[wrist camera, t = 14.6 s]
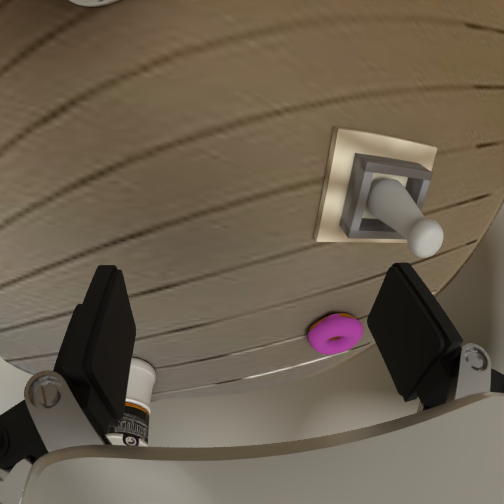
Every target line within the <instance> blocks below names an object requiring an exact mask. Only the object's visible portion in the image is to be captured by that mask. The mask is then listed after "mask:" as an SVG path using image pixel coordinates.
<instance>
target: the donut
mask: <svg viewBox="0 0 504 504" xmlns="http://www.w3.org/2000/svg"><path fill="white" fill-rule="evenodd" d="M363 331H364V330H363V325H362V324H361V323H360V322H359V321H358V320H356V319H355V317H353V316H352V315H349V314H347V313H335V314H332V315H329V316H327V317H325V318H323V319H321V320H319V321H318V322H316V323H315V324H313V325H312V326H311V328H310V330H309V333H308V335H307V337H308V340H309V342H310V344H311V346H312V347H313V348H314V349H315V350H316V351H317V352H319V353H322V354H336V353H341V352H344V351H346V350H348V349H350V348H352V347H353V346H354V345H355V344H356V343H357V342H358V341H359V340H360V339H361V337H362V335H363Z"/></svg>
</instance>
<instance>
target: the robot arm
mask: <svg viewBox="0 0 504 504" xmlns="http://www.w3.org/2000/svg"><path fill="white" fill-rule="evenodd" d="M69 1H71V2H72V3H75V4H77V5H81V6H86V7H98V6H105V5H108V4H112V3H115V2H117V1H119V0H103V1H101V0H69ZM367 324H368V327H369V329H370V331H371V333H372V336H373V338H374V340H375V342H376V344H377V346H378V348H379V350H380V353H381V354H382V357H383V359H384V361H385V363H386V366H387V368H388V370H389V372H390V375H391V377H392V379H393V381H394V384H395V386H396V388H397V391H398V393H399V394H400V395H402V396H403V398H404V401H405V402H407V401H411V400H414V399H416V398H417V397H419V398H420V403H419V407H418V410H417V413H415V414H412V415H409V416H406V417H402V418H399V419H395V420H392V421H388V422H385V423H381V424H377V425H373V426H370V427H365V428H361V429H357V430H352V431H348V432H343V433H338V434H333V435H328V436H323V437H316V438H310V439H304V440H297V441H290V442H282V443H273V444H263V445H251V446H239V447H213V448H169V447H166V448H165V447H146V446H126V445H112V443H111V442H110V441H109V439H108V438H107V436H106V435H105V434H107V433H108V426H116V427H118V419H123V416H124V410H125V402H126V394H127V386H128V379H129V373H130V366H131V360H132V354H133V348H134V342H135V336H136V326H135V322H134V318H133V315H132V311H131V307H130V303H129V299H128V295H127V290H126V286H125V282H124V277H123V273H122V270H117V267H116V266H115V265H99V266H98V267H97V269H96V272H95V274H94V277H93V279H92V281H91V284H90V286H89V289H88V291H87V294H86V296H85V299H84V301H83V304H78V305H77V306H76V308H75V310H74V312H73V315H72V317H71V320H70V323H69V325H68V328H67V331H66V334H65V337H64V339H63V342H62V345H61V348H60V351H59V354H58V357H57V360H56V363H55V367H54V370H53V371H50V370H49V371H41V372H39V373H36V374H35V375H34V376H32V377H31V378H30V380H29V381H28V382H27V384H26V387H25V390H24V397H25V400H23V401H22V402H20V403H19V404H17V405H15V406H14V407H12V408H11V409H9V410H8V411H6V412H5V413H3V414H2V415H0V504H18V503H19V501H20V498H21V497H22V502H21V504H504V375H503V374H501V373H499V372H497V371H496V370H494V369H492V368H491V360H490V358H489V356H488V354H487V353H486V351H485V350H484V349H483V348H481V347H480V346H478V345H476V344H467V345H465V346H464V347H463V348H461V347H460V344H461V343H462V342H463V339H462V338H461V336H460V335H459V333H458V331H457V330H456V328H455V327H454V325H453V324H452V322H451V321H450V319H449V318H448V316H447V315H446V313H445V312H444V310H443V309H442V307H441V306H440V305H439V303H438V302H437V300H436V299H435V297H434V296H433V295H432V293H431V292H430V290H429V289H428V288H427V286H426V285H425V284H424V282H423V281H422V279H421V278H420V277H419V275H418V274H417V273H416V271H415V270H414V269H413V268H412V266H411V265H410V264H409V263H394V264H393V265H392V267H390V268H389V269H388V271H387V274H386V276H385V279H384V281H383V284H382V286H381V288H380V291H379V293H378V296H377V298H376V300H375V303H374V305H373V307H372V309H371V312H370V314H369V316H368V319H367ZM23 489H24V490H23Z"/></svg>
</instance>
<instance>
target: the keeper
mask: <svg viewBox="0 0 504 504" xmlns="http://www.w3.org/2000/svg"><path fill="white" fill-rule="evenodd" d="M436 151H437V148H436V147H434V146H433V145H430V144H426V143H422V142H418V141H414V140H409V139H405V138H400V137H395V136H390V135H385V134H380V133H375V132H369V131H364V130H358V129H351V128H345V127H338V126H334V128H333V134H332V140H331V146H330V152H329V158H328V164H327V169H326V175H325V180H324V186H323V191H322V196H321V201H320V207H319V212H318V217H317V222H316V226H315V231H314V238H315V240H316V242H390V243H408V242H407V238H405V237H404V236H403V235H401V234H400V233H398V232H397V231H396V230H394V229H393V228H391V227H390V226H388V225H387V224H385V223H384V222H382V221H381V220H379V219H378V218H376V217H375V216H374V215H372V214H371V212H370V210H369V207H368V204H367V202H368V193H369V189H370V186H371V184H372V183H373V182H374V181H375V180H379V179H387V178H390V179H395V180H398V181H399V182H400V183H401V184H402V185H403V186H404V187H405V189H406V190H407V192H408V193H409V194H410V196H411V197H412V199H413V200H414V202H415V203H416V205H417V206H418V208H419V210H420V211H421V209H422V206H423V203H424V200H425V197H426V193H427V190H428V187H429V183H430V180H431V177H432V173H433V172H431V170H432V166H433V163H434V159H435V155H436Z"/></svg>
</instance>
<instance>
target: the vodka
mask: <svg viewBox="0 0 504 504" xmlns="http://www.w3.org/2000/svg"><path fill="white" fill-rule="evenodd" d="M155 377H156V373H155V370H154V368H153V367H152V366H151V365H150V364H149V363H147V362H145V361H143V360H141V359H138V358H133V357H132V360H131V366H130V373H129V379H128V386H127V394H126V402H125V410H124V416H123V419H118V427H116V426H108V433H107V434H105V435H106V436H107V438H108V439H109V441H110V442H111V443H112V445H126V446H146V447H148V429H149V414H150V412H151V409H150V401H151V394H152V389H153V384H154V383H155Z"/></svg>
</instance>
